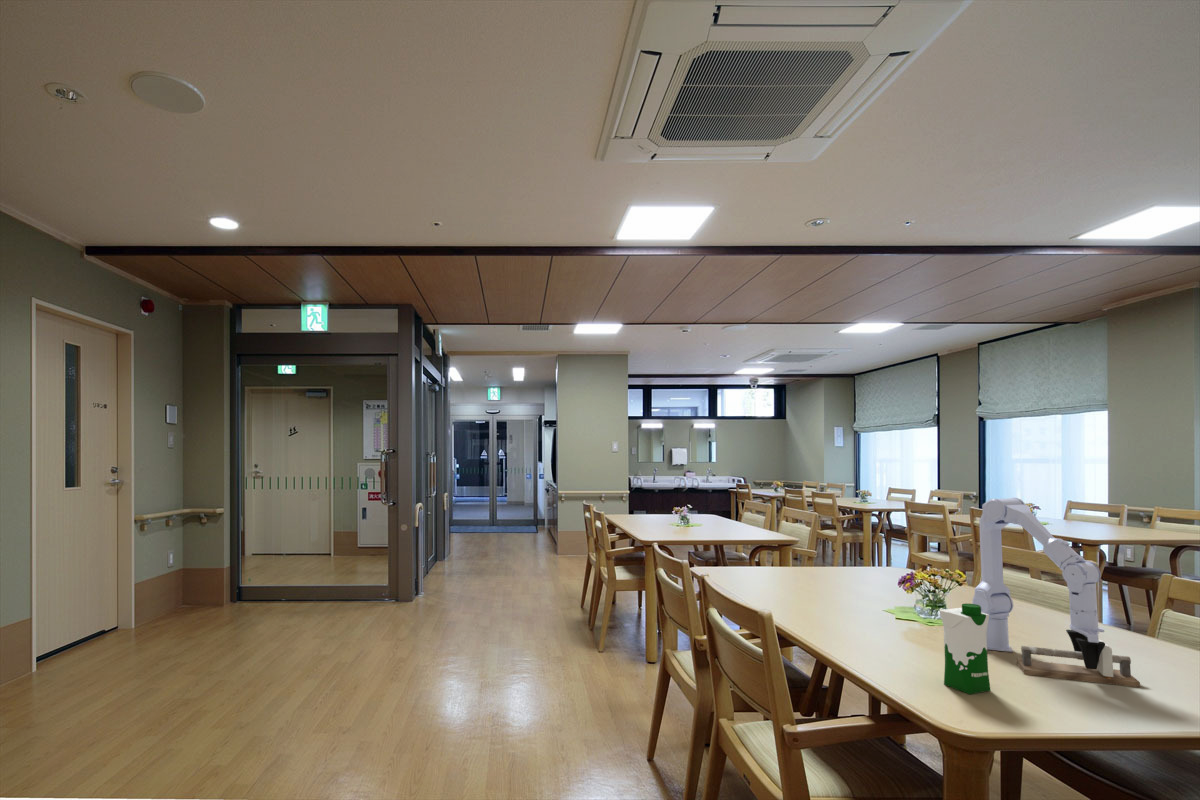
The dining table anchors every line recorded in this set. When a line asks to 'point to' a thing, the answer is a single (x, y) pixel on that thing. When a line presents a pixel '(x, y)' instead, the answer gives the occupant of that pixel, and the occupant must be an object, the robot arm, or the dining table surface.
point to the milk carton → (966, 648)
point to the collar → (1105, 661)
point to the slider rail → (1074, 667)
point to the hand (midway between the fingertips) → (1086, 664)
